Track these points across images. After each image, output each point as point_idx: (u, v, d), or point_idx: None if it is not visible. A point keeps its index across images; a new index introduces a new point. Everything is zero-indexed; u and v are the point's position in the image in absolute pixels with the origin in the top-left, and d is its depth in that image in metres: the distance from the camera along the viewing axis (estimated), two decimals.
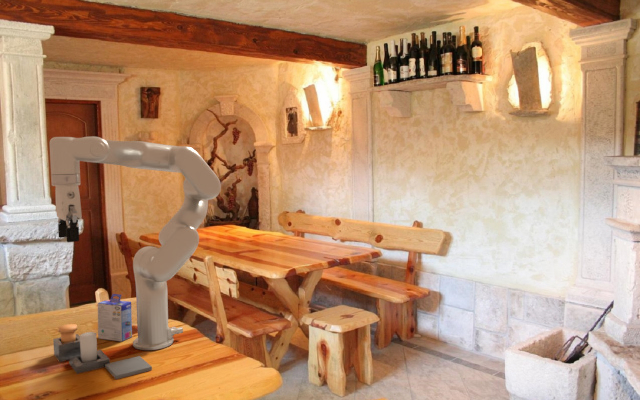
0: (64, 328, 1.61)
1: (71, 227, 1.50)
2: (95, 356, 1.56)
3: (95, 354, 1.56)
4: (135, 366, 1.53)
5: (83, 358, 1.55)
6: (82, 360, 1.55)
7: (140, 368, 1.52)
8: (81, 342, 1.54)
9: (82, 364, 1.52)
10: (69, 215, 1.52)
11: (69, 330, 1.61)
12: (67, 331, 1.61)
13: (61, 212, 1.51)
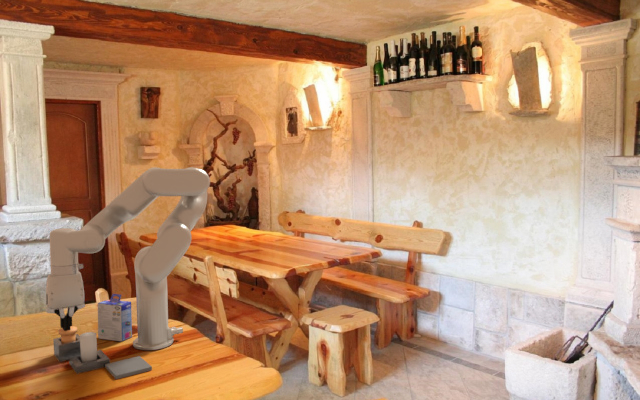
0: (64, 331, 1.61)
1: None
2: (95, 356, 1.56)
3: (95, 354, 1.56)
4: (135, 366, 1.53)
5: (83, 358, 1.55)
6: (82, 360, 1.55)
7: (140, 368, 1.52)
8: (81, 342, 1.54)
9: (82, 364, 1.52)
10: None
11: (69, 332, 1.61)
12: (67, 333, 1.61)
13: (77, 298, 1.62)
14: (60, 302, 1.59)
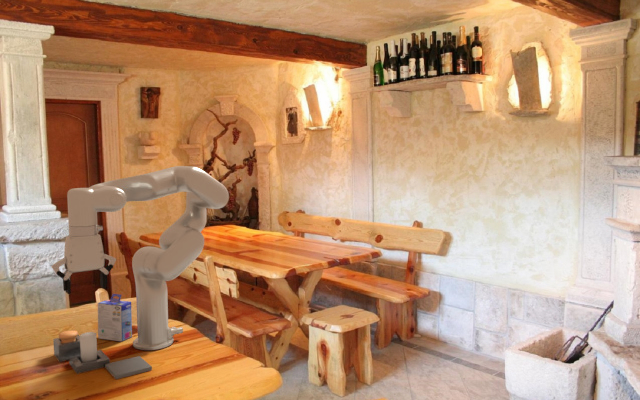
0: (65, 335, 1.61)
1: None
2: (95, 356, 1.56)
3: (95, 354, 1.56)
4: (135, 366, 1.53)
5: (83, 358, 1.55)
6: (82, 360, 1.55)
7: (140, 368, 1.52)
8: (81, 342, 1.54)
9: (82, 364, 1.52)
10: None
11: (69, 337, 1.61)
12: (67, 338, 1.61)
13: (97, 261, 1.54)
14: (79, 265, 1.51)
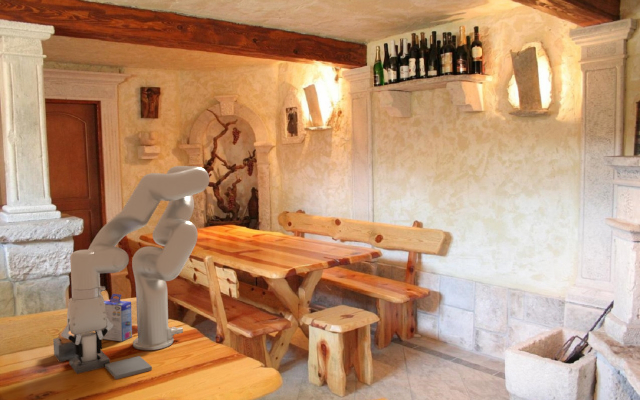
0: None
1: None
2: (95, 356, 1.56)
3: (95, 354, 1.56)
4: (135, 366, 1.53)
5: (83, 358, 1.55)
6: (82, 360, 1.55)
7: (140, 368, 1.52)
8: (81, 342, 1.54)
9: (82, 364, 1.52)
10: None
11: None
12: None
13: (100, 322, 1.56)
14: (82, 327, 1.53)
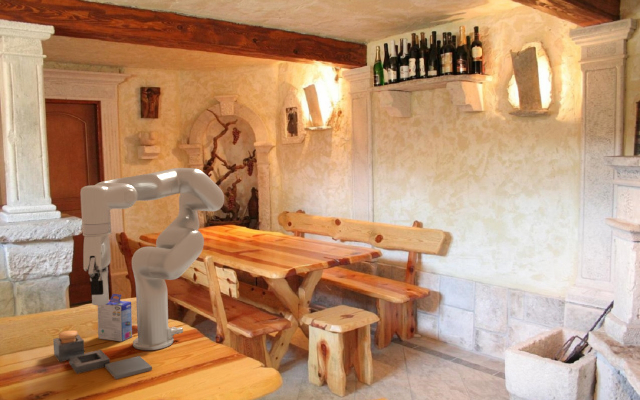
0: (65, 335, 1.61)
1: None
2: None
3: None
4: (135, 366, 1.53)
5: (103, 295, 1.52)
6: (101, 297, 1.52)
7: (140, 368, 1.52)
8: None
9: (82, 364, 1.52)
10: None
11: (69, 337, 1.61)
12: (67, 338, 1.61)
13: (109, 257, 1.56)
14: (104, 262, 1.51)
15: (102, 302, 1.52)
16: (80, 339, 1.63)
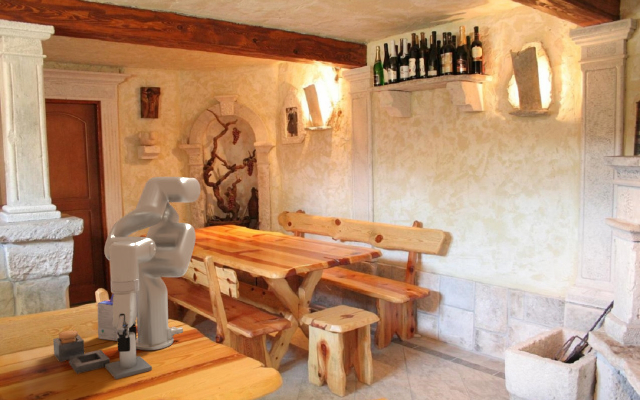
0: (65, 335, 1.61)
1: None
2: None
3: None
4: (135, 366, 1.53)
5: (131, 358, 1.52)
6: (130, 360, 1.52)
7: (140, 368, 1.52)
8: None
9: (82, 364, 1.52)
10: None
11: (69, 337, 1.61)
12: (67, 338, 1.61)
13: (136, 312, 1.56)
14: (133, 318, 1.51)
15: (130, 365, 1.52)
16: (80, 339, 1.63)
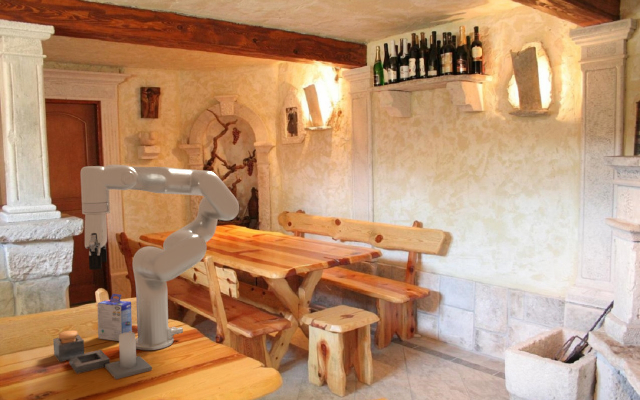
0: (65, 335, 1.61)
1: None
2: None
3: None
4: (135, 366, 1.53)
5: (131, 358, 1.52)
6: (130, 360, 1.52)
7: (140, 368, 1.52)
8: (128, 342, 1.51)
9: (82, 364, 1.52)
10: None
11: (69, 337, 1.61)
12: (67, 338, 1.61)
13: (106, 236, 1.62)
14: (104, 240, 1.57)
15: (130, 365, 1.52)
16: (80, 339, 1.63)
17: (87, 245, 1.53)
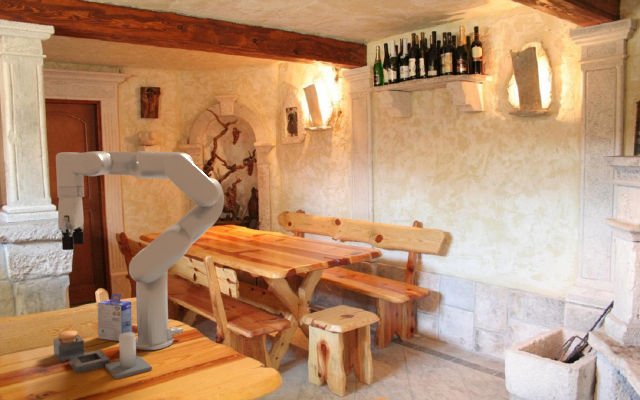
0: (65, 335, 1.61)
1: None
2: None
3: None
4: (135, 366, 1.53)
5: (131, 358, 1.52)
6: (130, 360, 1.52)
7: (140, 368, 1.52)
8: (128, 342, 1.51)
9: (82, 364, 1.52)
10: None
11: (69, 337, 1.61)
12: (67, 338, 1.61)
13: (82, 219, 1.70)
14: (77, 222, 1.65)
15: (130, 365, 1.52)
16: (80, 339, 1.63)
17: (60, 227, 1.62)
